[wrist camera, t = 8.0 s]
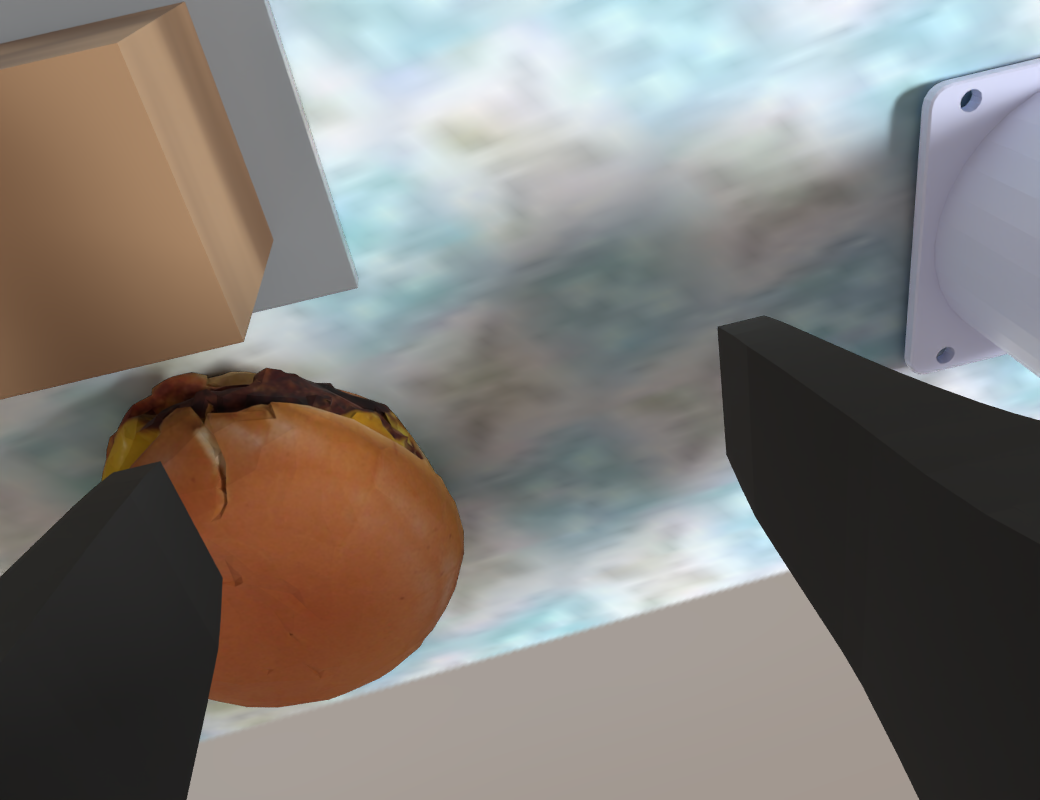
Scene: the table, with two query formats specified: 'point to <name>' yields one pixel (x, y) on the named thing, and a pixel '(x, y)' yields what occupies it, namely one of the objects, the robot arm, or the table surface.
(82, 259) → the walnut cube
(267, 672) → the burger
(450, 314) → the table surface
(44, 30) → the slate coaster
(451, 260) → the table surface
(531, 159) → the table surface
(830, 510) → the robot arm
